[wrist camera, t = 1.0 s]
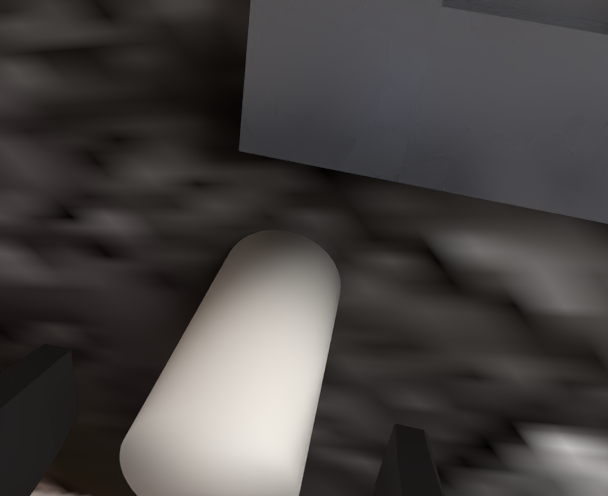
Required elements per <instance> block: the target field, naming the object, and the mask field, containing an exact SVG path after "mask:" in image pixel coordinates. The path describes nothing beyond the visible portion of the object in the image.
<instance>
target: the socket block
mask: <svg viewBox="0 0 608 496" xmlns="http://www.w3.org/2000/svg"><path fill="white" fill-rule="evenodd" d="M239 151H242V152H247V153H252V154H257V155H262V156H267V157H272V158H277V159H282V160H287V161H292V162H297V163H302V164H308V165H313V166H318V167H323V168H328V169H333V170H338V171H343V172H348V173H353V174H358V175H363V176H368V177H373V178H378V179H384V180H389V181H394V182H399V183H404V184H409V185H414V186H419V187H424V188H429V189H434V190H439V191H444V192H449V193H454V194H460V195H465V196H470V197H475V198H480V199H485V200H490V201H495V202H500V203H505V204H510V205H515V206H520V207H525V208H530V209H536V210H541V211H546V212H551V213H556V214H561V215H566V216H571V217H576V218H581V219H586V220H591V221H596V222H601V223H606V224H608V0H251V3H250V16H249V28H248V41H247V54H246V67H245V79H244V92H243V105H242V117H241V130H240V143H239Z"/></svg>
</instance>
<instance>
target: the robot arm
mask: <svg viewBox="0 0 608 496" xmlns="http://www.w3.org/2000/svg"><path fill="white" fill-rule="evenodd" d="M77 416H78V405H77V396H76V387H75V379H74V370H73V361H72V352H71V350H69V349H65V348H61V347H56V346H52V345H47V344H45V345H43V346H41V347H40V348H38V349H37V350H35V351H33V352H32V353H30V354H29V355H27V356H26V357H24V358H23V359H21V360H19V361H18V362H16V363H15V364H13V365H12V366H10V367H9V368H7V369H6V370H4V371H3V372H1V373H0V496H30V495H31V493H32V492H33V491H34V489H35V488H36V486H37V485H38V483H39V482H40V480H41V479H42V477H43V476H44V474H45V473H46V471H47V470H48V468H49V467H50V465H51V464H52V462H53V461H54V459H55V458H56V456H57V454H58V453H59V451H60V449H61V447H62V445H63V443H64V441H65V440H66V438H67V436H68V434H69V432H70V430H71V428H72V426H73V424H74V422H75V420H76V418H77ZM374 496H445V494H444V491H443V488H442V485H441V482H440V478H439V475H438V472H437V469H436V465H435V462H434V459H433V455H432V451H431V447H430V444H429V439H428V435H427V434H426V432H425V431H424V430H421V429H417V428H412V427H408V426H403V425H399V424H395V425H394V428H393V431H392V434H391V437H390V440H389V444H388V447H387V450H386V453H385V456H384V459H383V462H382V465H381V468H380V471H379V474H378V477H377V480H376V483H375V491H374Z"/></svg>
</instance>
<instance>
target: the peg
mask: <svg viewBox="0 0 608 496" xmlns="http://www.w3.org/2000/svg"><path fill="white" fill-rule="evenodd" d="M340 291H341V281H340V276H339V273H338V270H337V267H336V266H335V264H334V262H333V260H332V259H331V257H330V256H329V255H328V254H327V253H326V251H325V250H324V249H322V248H321V247H320V246H319V245H318V244H316V243H315V242H313V241H312V240H310V239H308V238H306V237H304V236H302V235H299V234H297V233H293V232H290V231H284V230H265V231H260V232H256V233H253V234H251V235H249V236H247V237H245V238H243V239H242V240H241V241H239V242H238V243H237V244H236V245H235V246H234V247H233V248H232V250H231V251H230V253H229V254H228V256H227V258H226V260H225V261H224V263H223V265H222V267H221V268H220V270H219V272H218V274H217V276H216V277H215V279H214V281H213V283H212V284H211V286H210V288H209V290H208V292H207V293H206V295H205V297H204V299H203V300H202V302H201V304H200V306H199V307H198V309H197V311H196V313H195V315H194V316H193V318H192V320H191V322H190V323H189V325H188V327H187V329H186V330H185V332H184V334H183V336H182V338H181V339H180V341H179V343H178V345H177V346H176V348H175V350H174V352H173V354H172V355H171V357H170V359H169V361H168V362H167V364H166V366H165V368H164V369H163V371H162V373H161V375H160V377H159V378H158V380H157V382H156V384H155V385H154V387H153V389H152V391H151V393H150V394H149V396H148V398H147V400H146V401H145V403H144V405H143V407H142V408H141V410H140V412H139V414H138V416H137V417H136V419H135V421H134V423H133V424H132V426H131V428H130V430H129V431H128V433H127V435H126V437H125V439H124V441H123V443H122V445H121V449H120V465H121V469H122V472H123V475H124V477H125V479H126V481H127V483H128V484H129V486H130V487H131V489H132V490H133V491H134V492H135V493H136V495H137V496H299V493H300V488H301V483H302V478H303V473H304V468H305V463H306V458H307V453H308V449H309V444H310V439H311V434H312V429H313V424H314V419H315V414H316V410H317V405H318V400H319V395H320V390H321V385H322V380H323V375H324V370H325V366H326V361H327V356H328V351H329V346H330V341H331V336H332V331H333V327H334V322H335V317H336V312H337V307H338V302H339V297H340Z"/></svg>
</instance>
